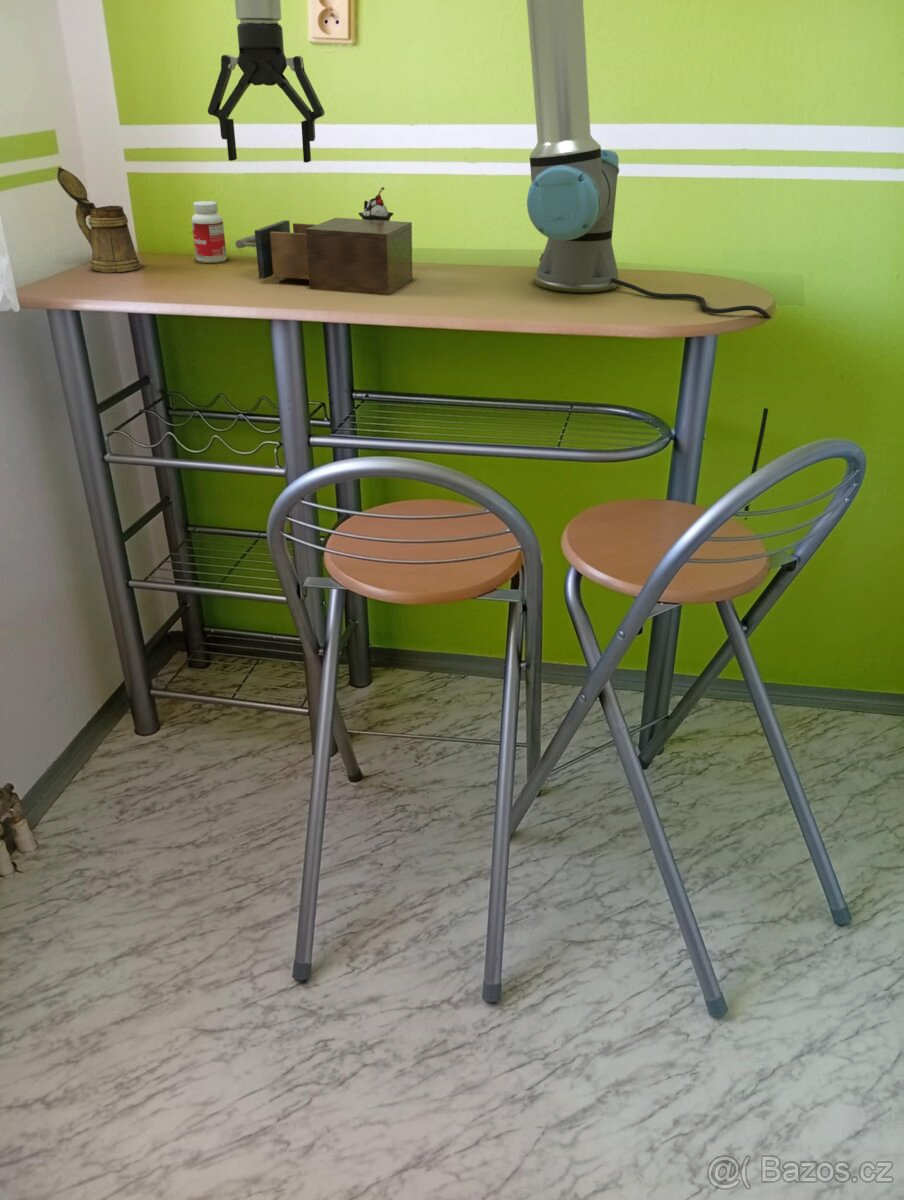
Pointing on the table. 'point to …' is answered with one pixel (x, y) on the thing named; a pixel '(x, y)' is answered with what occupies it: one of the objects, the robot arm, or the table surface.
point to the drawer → (280, 250)
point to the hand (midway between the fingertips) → (270, 161)
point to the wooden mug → (102, 229)
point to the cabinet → (359, 255)
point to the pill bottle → (208, 233)
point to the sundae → (375, 209)
